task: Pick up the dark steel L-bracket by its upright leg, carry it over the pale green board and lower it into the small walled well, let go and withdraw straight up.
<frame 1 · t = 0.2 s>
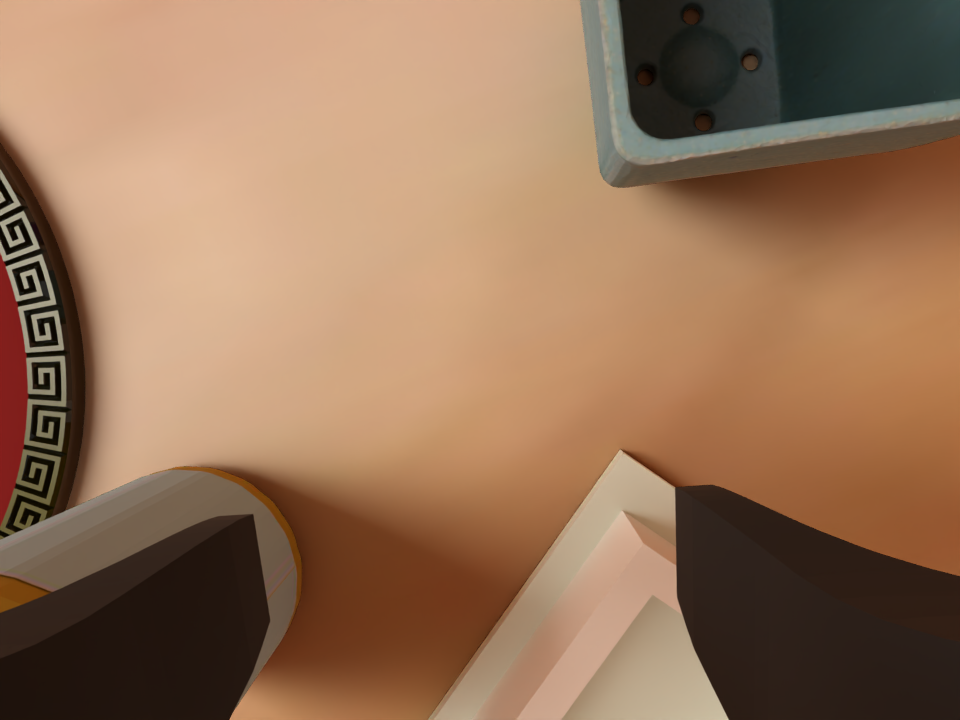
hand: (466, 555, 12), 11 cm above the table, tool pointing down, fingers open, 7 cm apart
flower pot: (690, 72, 21), on the table
bottle: (206, 564, 23), on the table
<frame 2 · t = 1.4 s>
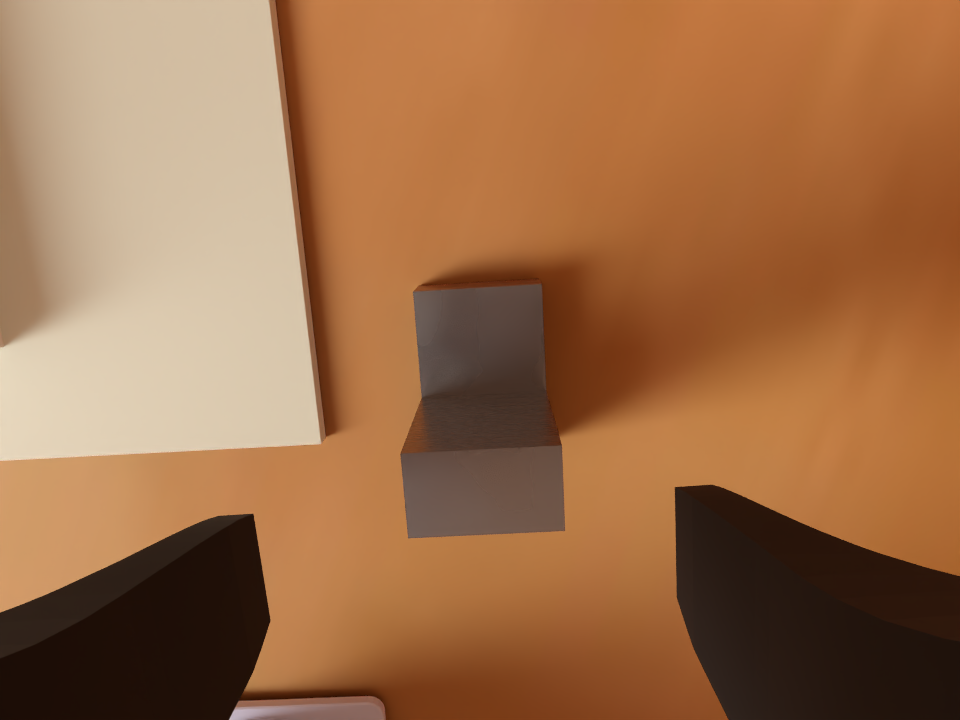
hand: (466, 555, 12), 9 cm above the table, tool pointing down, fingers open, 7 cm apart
bracket: (483, 365, 21), on the table
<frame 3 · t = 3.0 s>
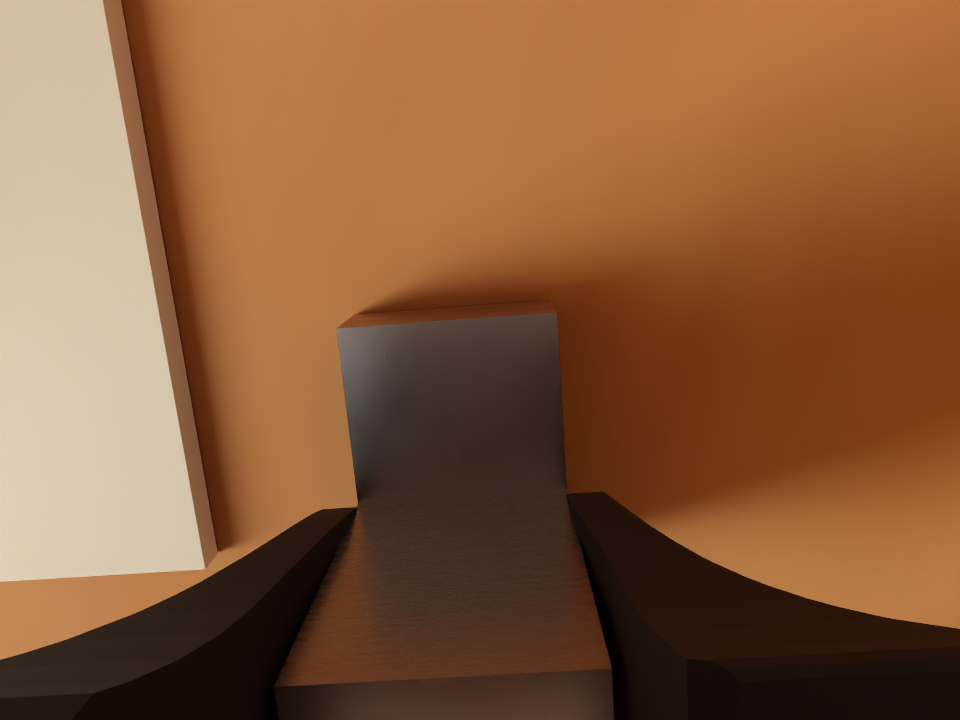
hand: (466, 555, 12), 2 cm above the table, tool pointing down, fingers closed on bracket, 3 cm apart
bracket: (463, 439, 13), on the table, touching gripper
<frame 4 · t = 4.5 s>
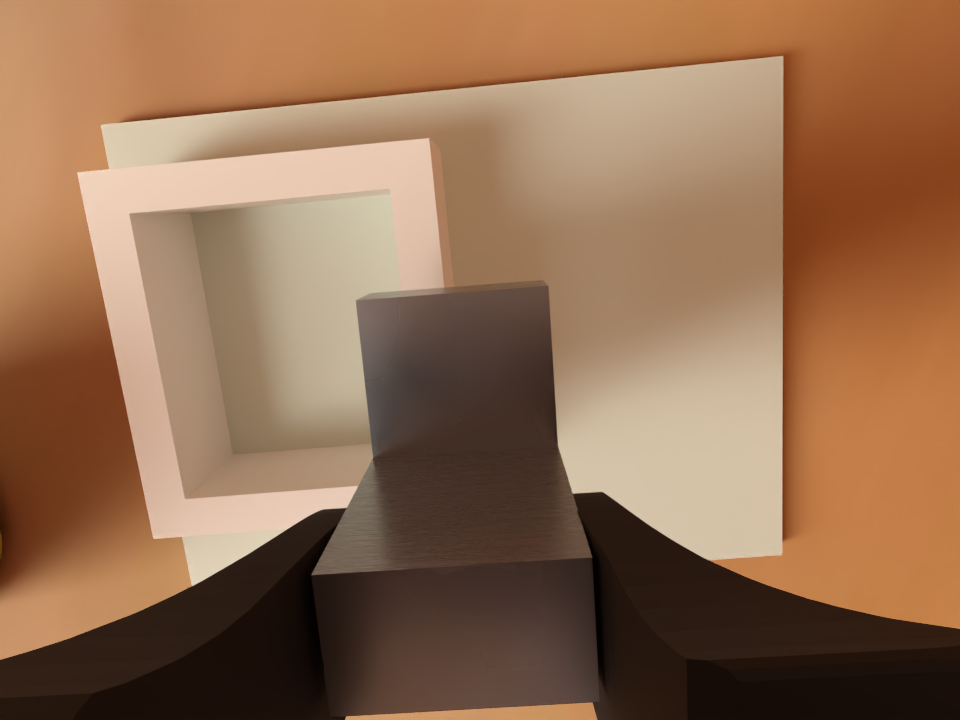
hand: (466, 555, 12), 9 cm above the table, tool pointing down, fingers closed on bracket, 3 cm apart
well board: (461, 347, 20), on the table
bracket: (466, 406, 14), point 6 cm above the table, touching gripper
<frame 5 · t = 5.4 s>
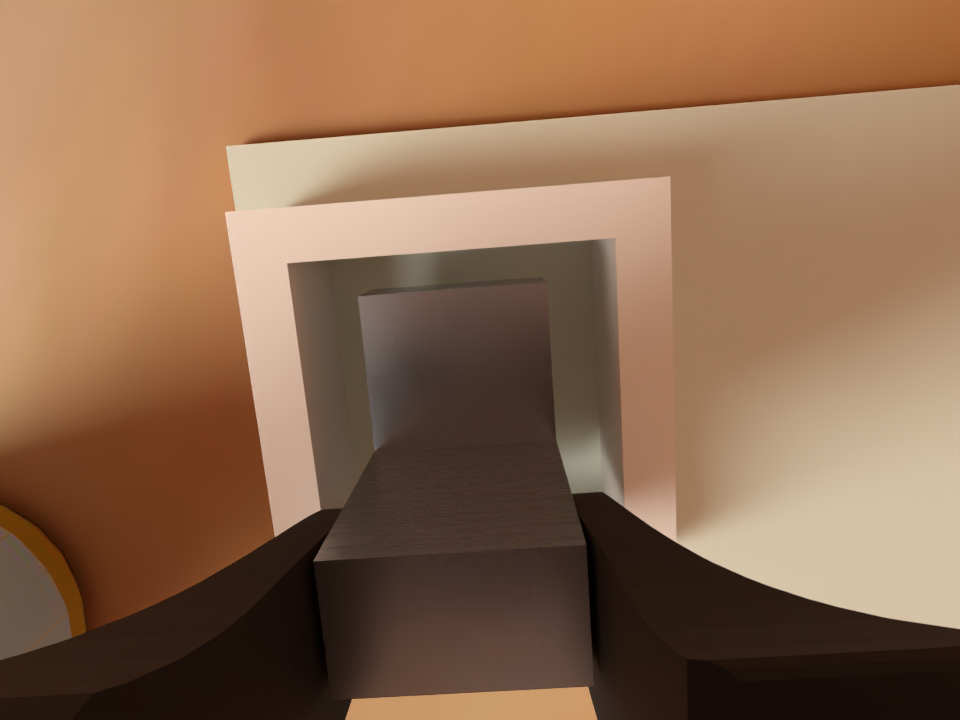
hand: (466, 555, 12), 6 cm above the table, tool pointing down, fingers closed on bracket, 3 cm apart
well board: (636, 412, 17), on the table
bracket: (466, 401, 15), point 2 cm above the table, touching gripper
when the fingers open (4 cm above the table, at t = 6.0 s): bracket stays where it is, resting on well board.
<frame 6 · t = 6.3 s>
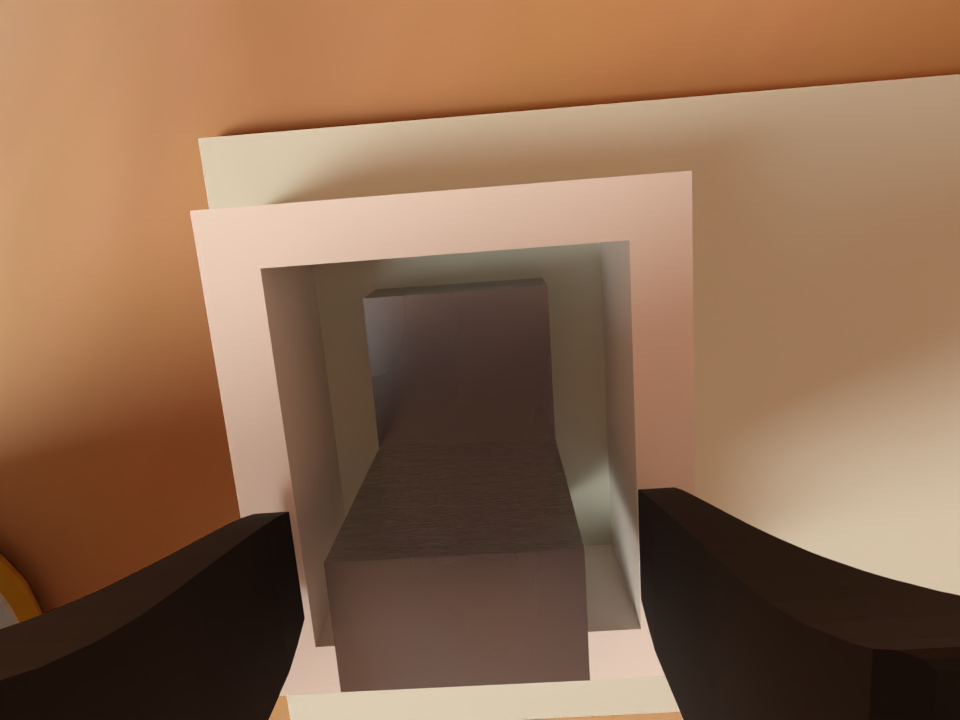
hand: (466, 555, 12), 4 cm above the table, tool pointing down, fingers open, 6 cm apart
well board: (647, 428, 16), on the table
bracket: (467, 398, 15), point 1 cm above the table, touching well board
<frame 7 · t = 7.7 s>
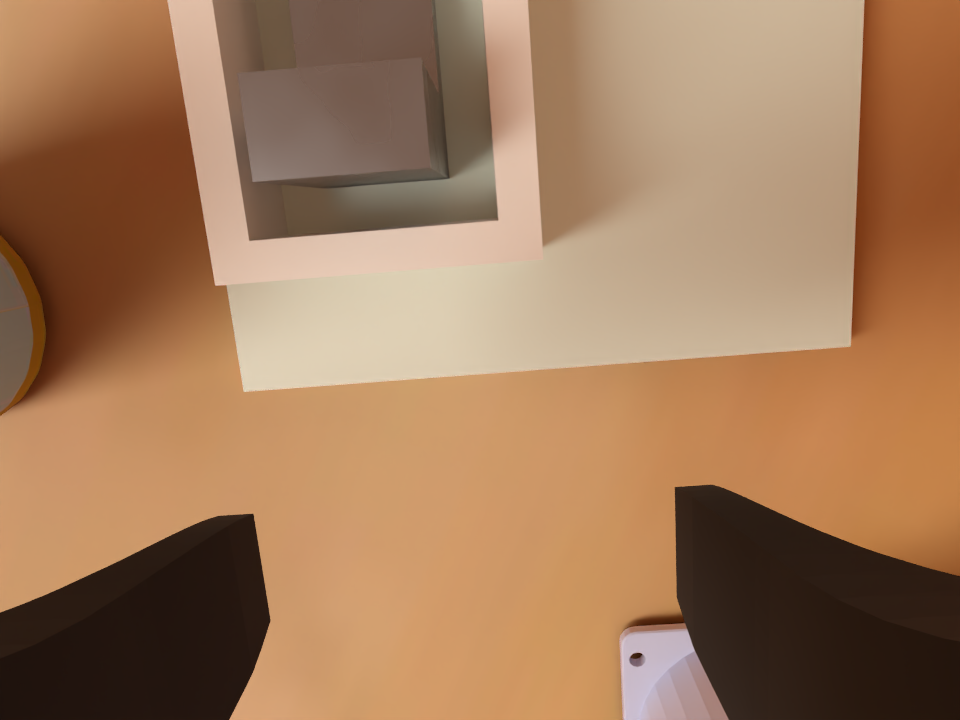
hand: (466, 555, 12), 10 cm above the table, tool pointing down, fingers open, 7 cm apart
well board: (526, 124, 19), on the table
bracket: (377, 89, 19), point 1 cm above the table, touching well board
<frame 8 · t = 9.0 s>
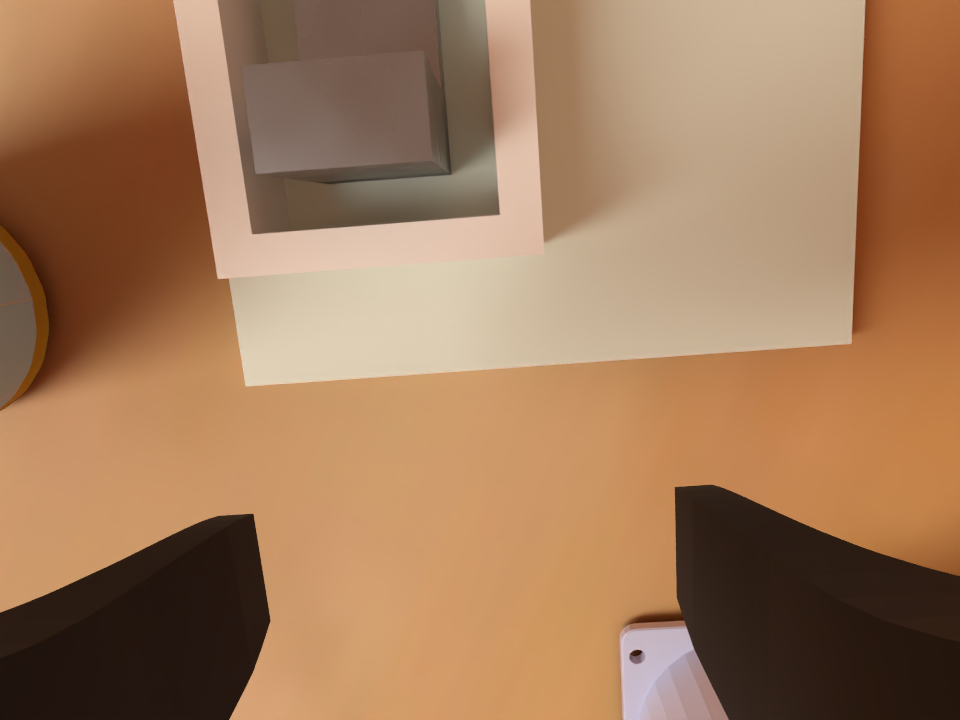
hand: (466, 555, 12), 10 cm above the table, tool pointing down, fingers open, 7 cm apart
well board: (527, 121, 19), on the table
bracket: (380, 85, 19), point 1 cm above the table, touching well board
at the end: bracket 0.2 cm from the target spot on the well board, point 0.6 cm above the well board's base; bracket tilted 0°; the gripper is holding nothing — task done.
